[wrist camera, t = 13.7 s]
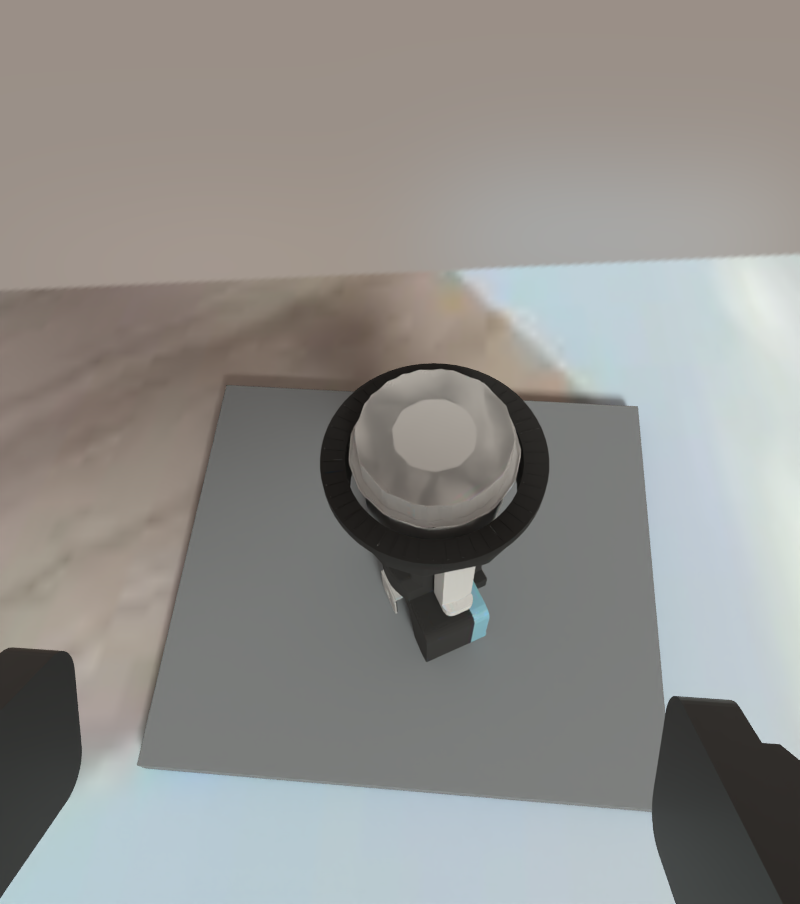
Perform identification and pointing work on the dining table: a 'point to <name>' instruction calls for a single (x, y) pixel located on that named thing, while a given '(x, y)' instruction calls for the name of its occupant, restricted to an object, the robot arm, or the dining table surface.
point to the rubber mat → (392, 637)
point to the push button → (435, 488)
